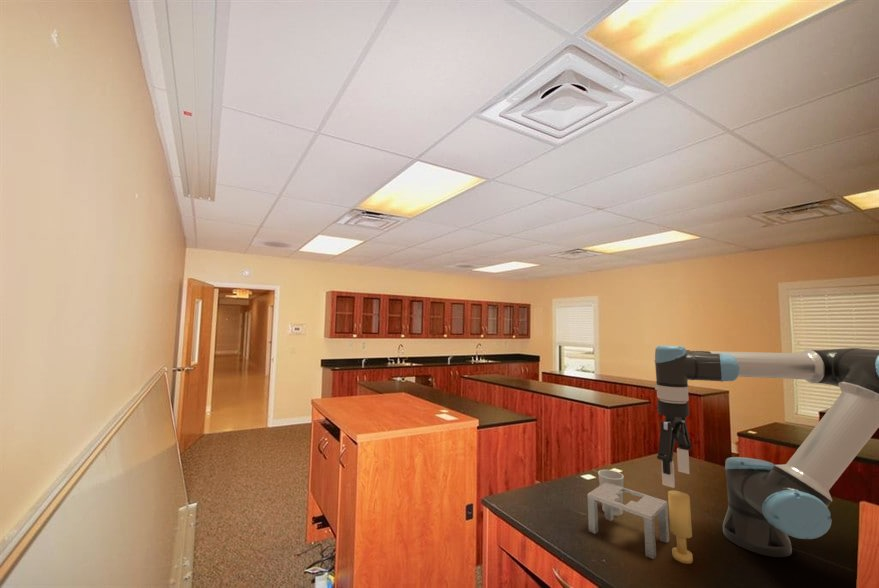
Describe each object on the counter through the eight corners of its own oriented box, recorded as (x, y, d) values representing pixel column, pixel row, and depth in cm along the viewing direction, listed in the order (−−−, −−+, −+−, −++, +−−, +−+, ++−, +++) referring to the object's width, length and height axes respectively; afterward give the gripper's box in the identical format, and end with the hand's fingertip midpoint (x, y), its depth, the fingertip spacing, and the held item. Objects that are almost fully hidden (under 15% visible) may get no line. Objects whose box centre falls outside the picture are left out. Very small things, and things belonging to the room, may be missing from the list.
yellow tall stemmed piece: (696, 558, 97) (691, 494, 99) (690, 566, 94) (686, 500, 95) (674, 550, 101) (671, 488, 102) (669, 557, 97) (665, 494, 99)
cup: (598, 513, 121) (597, 476, 122) (600, 503, 128) (598, 468, 129) (625, 519, 117) (623, 480, 118) (625, 508, 124) (623, 472, 125)
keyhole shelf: (669, 540, 105) (666, 501, 106) (653, 559, 97) (651, 516, 98) (607, 516, 119) (605, 481, 120) (588, 531, 110) (587, 493, 111)
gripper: (671, 393, 112) (675, 463, 110) (641, 404, 96) (645, 487, 94) (700, 397, 107) (704, 471, 105) (673, 409, 90) (678, 497, 88)
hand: (676, 479), depth 99 cm, fingers open, 13 cm apart
